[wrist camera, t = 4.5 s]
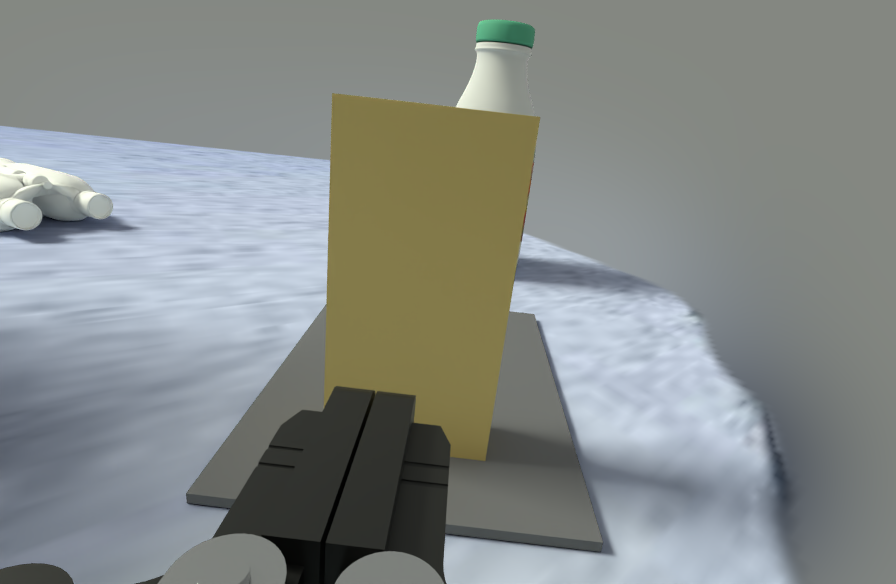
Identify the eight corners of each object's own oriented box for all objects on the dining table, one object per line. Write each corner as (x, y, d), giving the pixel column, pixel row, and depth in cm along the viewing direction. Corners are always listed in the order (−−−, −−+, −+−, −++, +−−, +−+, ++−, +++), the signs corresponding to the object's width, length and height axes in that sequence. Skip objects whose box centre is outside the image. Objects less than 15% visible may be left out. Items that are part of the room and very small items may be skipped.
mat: (600, 551, 17) (603, 542, 17) (186, 502, 17) (186, 493, 17) (533, 319, 36) (534, 314, 36) (335, 296, 36) (335, 291, 36)
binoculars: (25, 197, 54) (17, 152, 52) (128, 226, 48) (123, 175, 46) (-111, 211, 45) (-126, 156, 43) (-4, 248, 39) (-16, 186, 37)
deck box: (485, 461, 20) (540, 117, 16) (322, 442, 20) (332, 93, 16) (483, 423, 23) (531, 115, 18) (338, 406, 23) (350, 95, 18)
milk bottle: (472, 282, 42) (507, 10, 35) (417, 256, 48) (438, 16, 41) (534, 271, 47) (576, 30, 40) (477, 249, 52) (506, 33, 46)
